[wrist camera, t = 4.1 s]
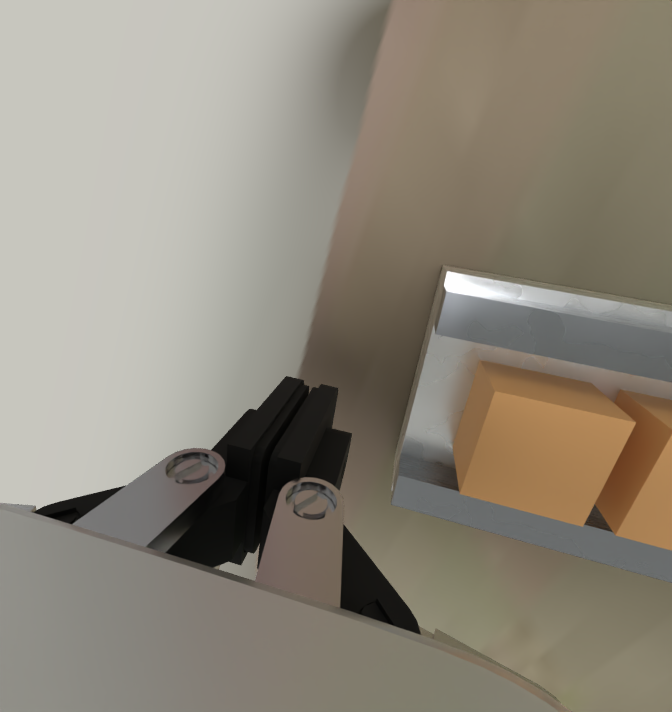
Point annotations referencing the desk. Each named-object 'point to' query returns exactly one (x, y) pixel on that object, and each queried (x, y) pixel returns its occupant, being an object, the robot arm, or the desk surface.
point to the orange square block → (642, 474)
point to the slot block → (537, 353)
